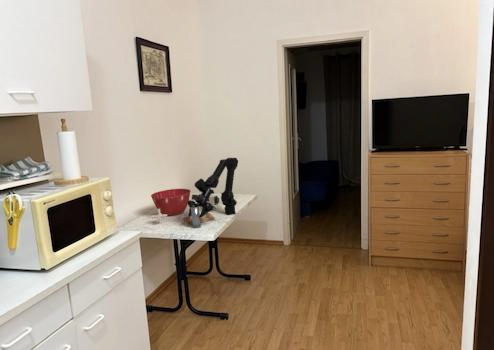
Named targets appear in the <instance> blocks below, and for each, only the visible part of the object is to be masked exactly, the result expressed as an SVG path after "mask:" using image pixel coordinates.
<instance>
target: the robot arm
mask: <svg viewBox="0 0 494 350" xmlns="http://www.w3.org/2000/svg"><path fill="white" fill-rule="evenodd" d="M238 164H239V160H238V158H237V157H227V158H224V159H220V160H219V163H218V164H217V166H216V168H215V169H214V171H213V173H212V174H211V175H210V176H208V177H207V179H206V180H204V179H203V178H199V179H198V180H197V181H195V183H194V187H195V188H196V189H197V191H199V192H200V193H199V194H192V195H191V200H190V199H189V201H188V202H187V204H188V205H187V207H188V208H189V210H188V216H192V215H191V207H193V206H199V207H200V208H202V209H201V212H199V214H200V216H199V218H201V217H203V216H204V215H205V214H207V213H211V212H213V211H212V210H213V206H214V205H213V206H212V205H211V204H210V203H207V201H209V197H210V195H212V194H213V195H215V191H214V189H216V188H217V187H218V184H219V181H220V177H221V176H222V174H223V172H224V171H225V168H226V179H225V186H224V187H225V188H224V191H223V192H221V194H220V195H221V196H220V201H221V203H222V205H223V206H224V209H223V210H224V214H225V215H227V216H229V215H236V214H237V212H236V206H237V204H238V201H237V200H236V199H235V195H234V192H233V185H234V177H235V170H236V169H237V168H238Z"/></svg>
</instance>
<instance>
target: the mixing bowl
mask: <svg viewBox="0 0 494 350" xmlns="http://www.w3.org/2000/svg"><path fill="white" fill-rule="evenodd" d="M150 197H151V199H152V201H153V204H154V205H155V207H156V209H160V213H161V214H162V215H163V214H167V217H171V216H178V215H180V214H183V213H184V211H186V209H187V207H188V204H187V202H188V201H189V200H190V197H191V189H189V188H173V189H172V188H171V189H164V190H160V191H157V192H154V193H152V194H151V195H150Z"/></svg>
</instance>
